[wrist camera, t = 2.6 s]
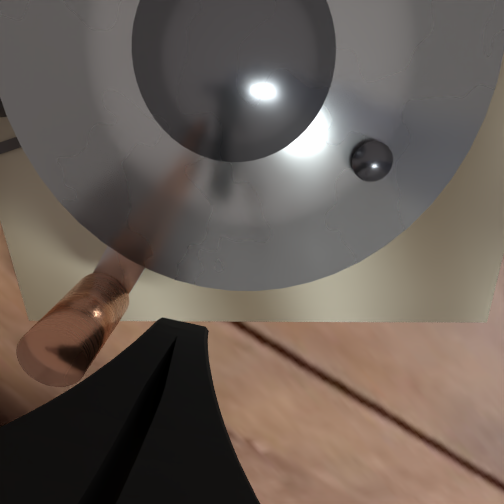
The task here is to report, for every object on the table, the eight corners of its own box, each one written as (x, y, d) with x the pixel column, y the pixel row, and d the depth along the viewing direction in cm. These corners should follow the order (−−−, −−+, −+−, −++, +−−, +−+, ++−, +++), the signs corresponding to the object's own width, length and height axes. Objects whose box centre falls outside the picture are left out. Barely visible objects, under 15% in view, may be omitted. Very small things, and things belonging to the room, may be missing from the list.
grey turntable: (143, -453, 7) (-7, -1092, 3) (598, -14, 9) (829, -89, 5) (-72, 198, 12) (-229, 247, 8) (255, 382, 14) (250, 488, 10)
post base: (605, -349, 8) (770, -568, 6) (466, 300, 14) (512, 350, 12) (-100, -291, 9) (-261, -457, 6) (51, 299, 15) (1, 345, 12)
